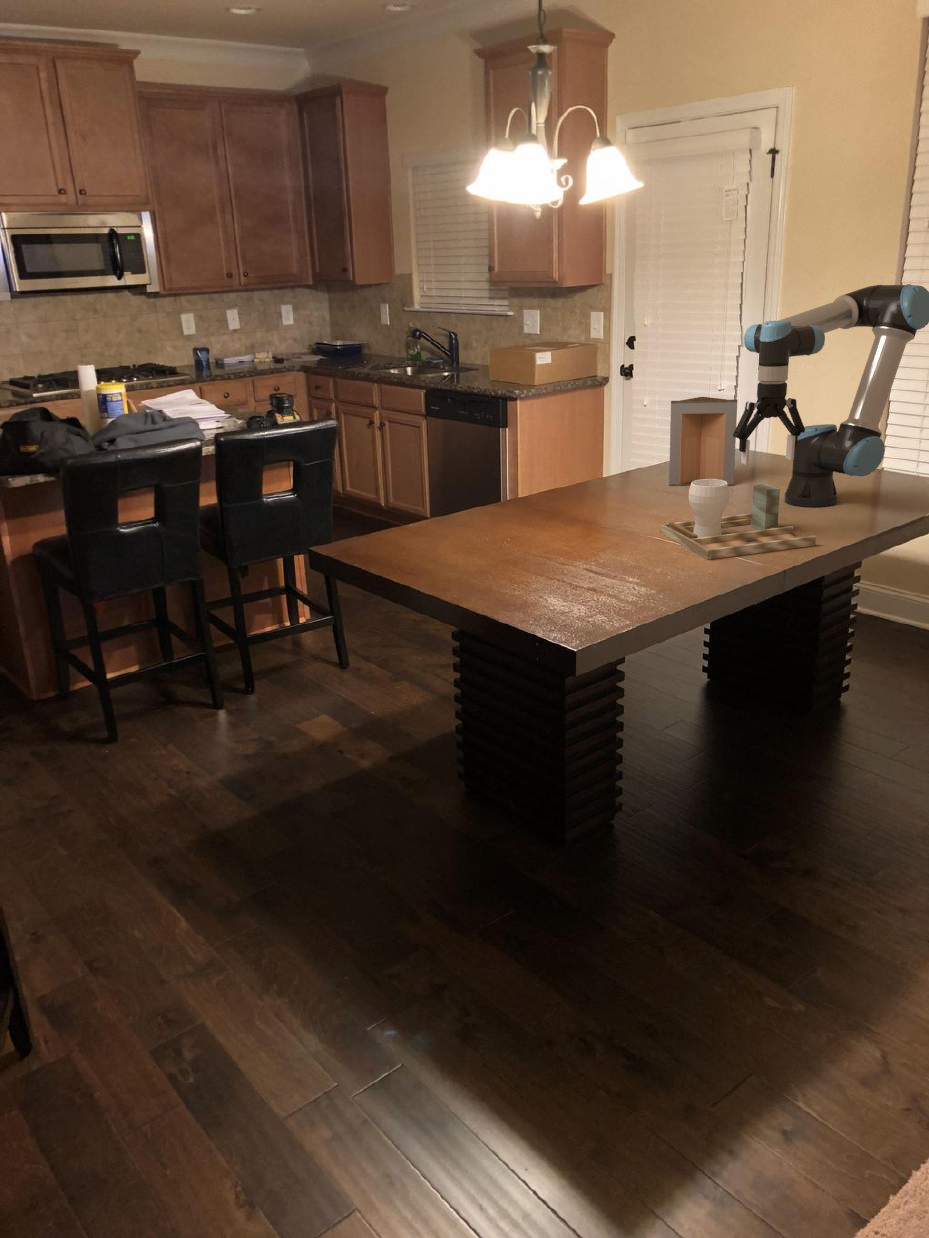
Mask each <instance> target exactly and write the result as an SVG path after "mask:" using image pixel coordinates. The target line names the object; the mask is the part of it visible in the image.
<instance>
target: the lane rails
mask: <svg viewBox="0 0 929 1238" xmlns="http://www.w3.org/2000/svg"><path fill="white" fill-rule="evenodd" d="M749 518H752V512H750V513H743V514H736V515H727V516H722V517H721V522H724V521H732V520H741V519H749ZM674 523H675V524H677V525H679V526H681V527H684V526H692V525H695V519H694V520H687V521H677V522H674ZM794 528H795V527H794V526H793V525H791V526H790V525H789V526H783V527H781V526H780V527H778V528H772V529H765V530H750V531H743V532H734V533H727V534H722V535H717V536H709V537H701V538H693V539H690V538H688V537H686V536H684V535H683V534H681V533H679V532H677V531H675V530H673V529H671V528H670V527H669V523H661V524H660V525H659V533H660V534H662V535H663V536H665V537H667V538H668V539H670V540H671V541H674V542H676V543H677V544H678V545H681V546H682V547H684V548H686V549H688V550H690V551H691V552H693V553H695V554H697V555H698V556H700V557H701V558H704V559H706V560H708V561H709V560H716V559H722V558H730V557H738V556H739V557H740V556H744V555H745V556H746V555H752V554H762V553H768V552H775V551H783V550H791V549H797V548H798V549H799V548H807V547H814V546H816V543H817V536H816V535H809V536H803V537H802V536H799V537H798V536H795V535H794ZM753 541H755V543H750V542H753Z"/></svg>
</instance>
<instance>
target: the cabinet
mask: <svg viewBox="0 0 929 1238" xmlns="http://www.w3.org/2000/svg"><path fill="white" fill-rule="evenodd" d="M737 419H738V399H737V398H735V399H728V398H727V399H726V398H717V397H709V396H708V397H707V396H698V397H692V398H687V399H681V400H670V428H669V429H670V430H669V434H670V436H669V473H668V481H669V482H668V486H669V487H690V486H691V483H692V482H693V481H695V480H701V479H718V480H723V481H726V482H727V483H728V487H734V486H735V485H734V483H735V463H736V440H737V439H736V437H733V433H734V431H735V429H736V427H737Z"/></svg>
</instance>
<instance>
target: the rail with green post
mask: <svg viewBox="0 0 929 1238" xmlns="http://www.w3.org/2000/svg"><path fill="white" fill-rule="evenodd" d="M752 488H753V489H752V502H751V503H752V504H751V505H752V506H751V508H752V509H751V513H752V518H749V519H741V520H732V521H724V522H721V523H720V524H721V529H724V528H725V529H726V528H730V527H732V528H733V527H738V526H747V525H751V528H752V529H754V530H755V531H757V530H765V529H772V528H779V527H778V525H779V511H780V510H779V509H780V496H781V489H780V488H778V487H776V486H774V485H771V484H769V483H763V484H753V487H752ZM675 523H676V522H672V521H671V522H668V524H669V527H670V528H671V529H673V530H675V531H677V532H679V533H681V534H683V535H684V536H686V537H688V538H690V539H693V538H698V535H696V534H694V533H693V531H694V527H695V525H692V526H684V527H681V526H679V525H677V524H675Z"/></svg>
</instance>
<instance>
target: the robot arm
mask: <svg viewBox="0 0 929 1238" xmlns="http://www.w3.org/2000/svg"><path fill="white" fill-rule="evenodd" d="M928 324H929V290H928V289H927V288H926V287H924V286H922V285H918V284H910V283H909V284H877V285H869V286H866V287H863V288H859V289H857V290H854V291H851V292H848V293H844V294H843V295H842V294H841V295H840V296H838V297H836V298H835V299H834V300H833V302H829V303H827V304H824V305H820V306H818V307H817V306H816V307H815V308H811V309H809V310H805V311H802V312H800V313H798V314H793V315H792V316H789V317H785V318H782V319H780V320H767V321H764V322H763V323H758V324H752V325H750V326H749V327H748V328H747V329H746V330H745V333H744V335H743V342H744V343H743V344H744V347H745V348H746V350H747V351H749V352H751V353H756V354H759V356H758V357H759V359H758V376H757V381H759V382H758V383H757V387H756V388H757V389H756V397H757V398H756V399H757V400H756V401H755V402H752V401H746V402H745V407H744V411H743V413H742V415H741V417H740V419H739V421H738V423H737V424H736V429H735V431H734V433H733V437H736V438H737V439H739V445H738V447H739V449H738V450H739V453H741V454H740V455H741V456H740V458H741V459H740V463H741V464H742V465H745V466H746V465H749V464H750V463H749V462H750V443H751V440H750V439H749V437H750V436H751V434H753V432H754V431H755V430H756V428H757V427H758V425H759V424H760V423H761V421H763V420H765V419H770V418H779V420H780V422H781V423H782V424H783V425H784V427H785V428H786V429H787V431H788V433H789V434H787V436H786V448H785V459H786V460H790V461H792V471H791V472H792V473H791V474H792V475H791V477H790V481H789V483H788V485H787V488H786V491H785V492H784V502H785V503H786V504H788V505H793V506H797V507H806V508H807V507H808V508H818V507H819V508H820V507H821V508H822V507H829V506H833V505H835V504H837V502H838V492H837V490H836V489H837V488H836V484H835V480H834V477H833V476H834V473H838V474H844V475H848V476H850V477H866V476H869V475H870V474H872V473H874V472H875V471H876V470H877V469H878V468H879V466H880V465H881V463H882V461H883V459H884V456H885V452H886V451H885V450H886V449H885V442H884V440H883V439H881V437H882V434H883V433H882V430H881V429H880V427H879V426H880V422H881V420H882V417H883V414H884V410H885V409H886V405H887V402H888V399H889V396H890V392H891V390H892V387H893V384H894V381H895V378H896V375H897V372H898V370H899V366H900V363H901V360H902V358H903V355H904V351H905V349H906V346H907V344H908V343H909V342H911V341H912V340H914V339H915V337H916V334H917V331H918V330H919V331H920V330H922V329H924V328H925V327H927V326H928ZM859 327H867V328H869V327H870V328H871V331H872V333H873V336H874V339H873V342H872V345H871V348H870V352H869V354H868V358H867V360H866V364H865V366H864V369H863V373H862V374H861V375H862V376H861V378H860V380H859V385H858V388H857V391H856V393H855V397H854V400H853V402H852V406H851V408H850V411H849V415H848V417H847V419H846V420H844V421H842V422H840V425H839V427H838V428H837V424H833V423H829V424H827V423H826V424H823V423H822V424H813V425H806V426H804V423H803V421H802V418H801V415H800V413H799V410H798V408H797V407H798V406H797V399H796V398H791V397H789V398H787V399H786V397H787V393H788V392H787V391H788V383H787V382H786V381H788V379H789V364H790V358H792V357H801V356H808V357H809V356H811V355H815V354H818V353H819V352H820V351H822V349H823V347H825V342H826V341H825V340H826V335H825V334H826V333H829V332H833V331H835V330H837V329H843V330H849V329H852V328H859ZM785 408H788V413H789V415H790V417H791V419H790V418H789V416H788V414H787V412H786V411H785V410H784V409H785ZM755 410H756V411H755ZM754 411H755V413H754ZM753 413H754V414H753ZM791 420H792V421H791Z"/></svg>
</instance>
